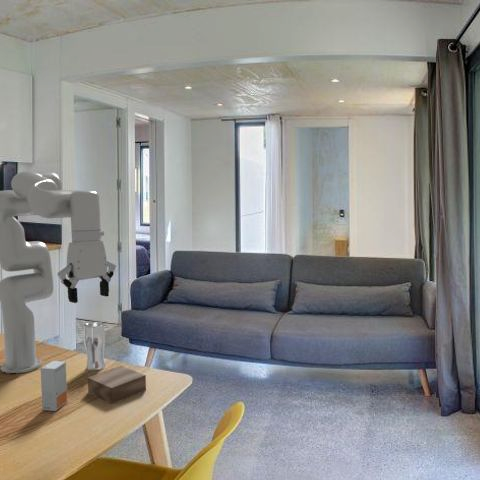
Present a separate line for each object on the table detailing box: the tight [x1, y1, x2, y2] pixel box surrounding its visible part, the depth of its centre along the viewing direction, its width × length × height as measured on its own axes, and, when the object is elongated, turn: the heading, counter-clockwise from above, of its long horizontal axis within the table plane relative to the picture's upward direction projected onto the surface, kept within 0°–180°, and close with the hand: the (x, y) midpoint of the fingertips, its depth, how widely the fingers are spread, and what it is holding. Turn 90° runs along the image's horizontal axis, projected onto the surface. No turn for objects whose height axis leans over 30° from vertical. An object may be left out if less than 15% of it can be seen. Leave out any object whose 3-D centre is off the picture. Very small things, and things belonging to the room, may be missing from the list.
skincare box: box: [40, 360, 68, 412], centre depth 134 cm, size 6×4×12 cm
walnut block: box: [87, 365, 147, 405], centre depth 144 cm, size 12×12×5 cm
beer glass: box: [83, 321, 106, 372], centre depth 163 cm, size 7×7×15 cm
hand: (89, 298), depth 132 cm, fingers open, 9 cm apart
